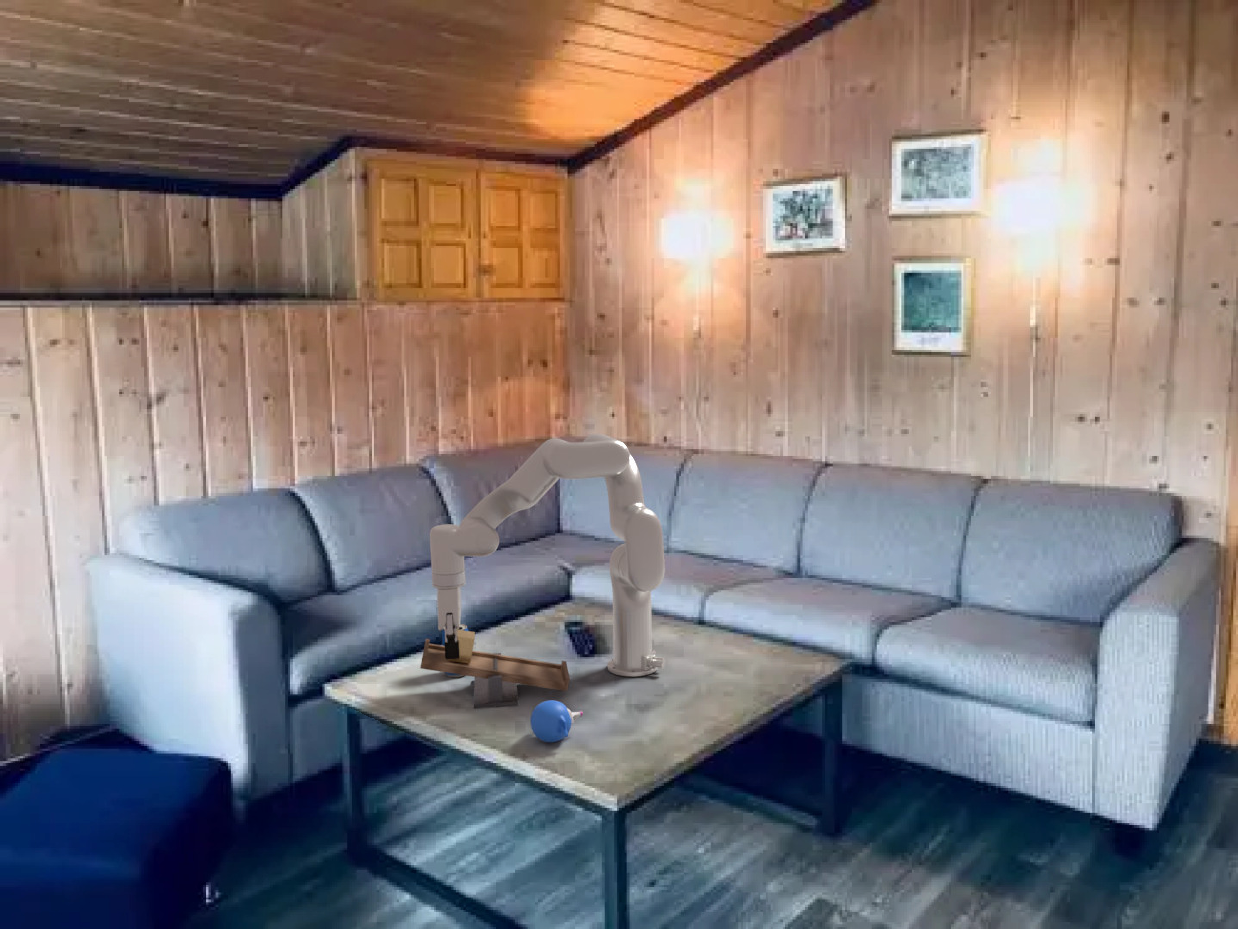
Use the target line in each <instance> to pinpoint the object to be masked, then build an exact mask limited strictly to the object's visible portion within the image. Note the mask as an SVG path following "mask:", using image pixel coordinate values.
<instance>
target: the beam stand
mask: <svg viewBox="0 0 1238 929" xmlns="http://www.w3.org/2000/svg"><path fill="white" fill-rule="evenodd" d="M493 654H498V655H502V653H501V652H498V653H497V652H496V653H495V652H494V653H493ZM517 684H518V683H511V682H505V681H502V675H492V676H488V679H485V678H479V677H474V684H473V686H474V687H473V709H474V710H475V709H491V708H508V707H509V708H510V707H518V706H519V699H518V685H517Z"/></svg>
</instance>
